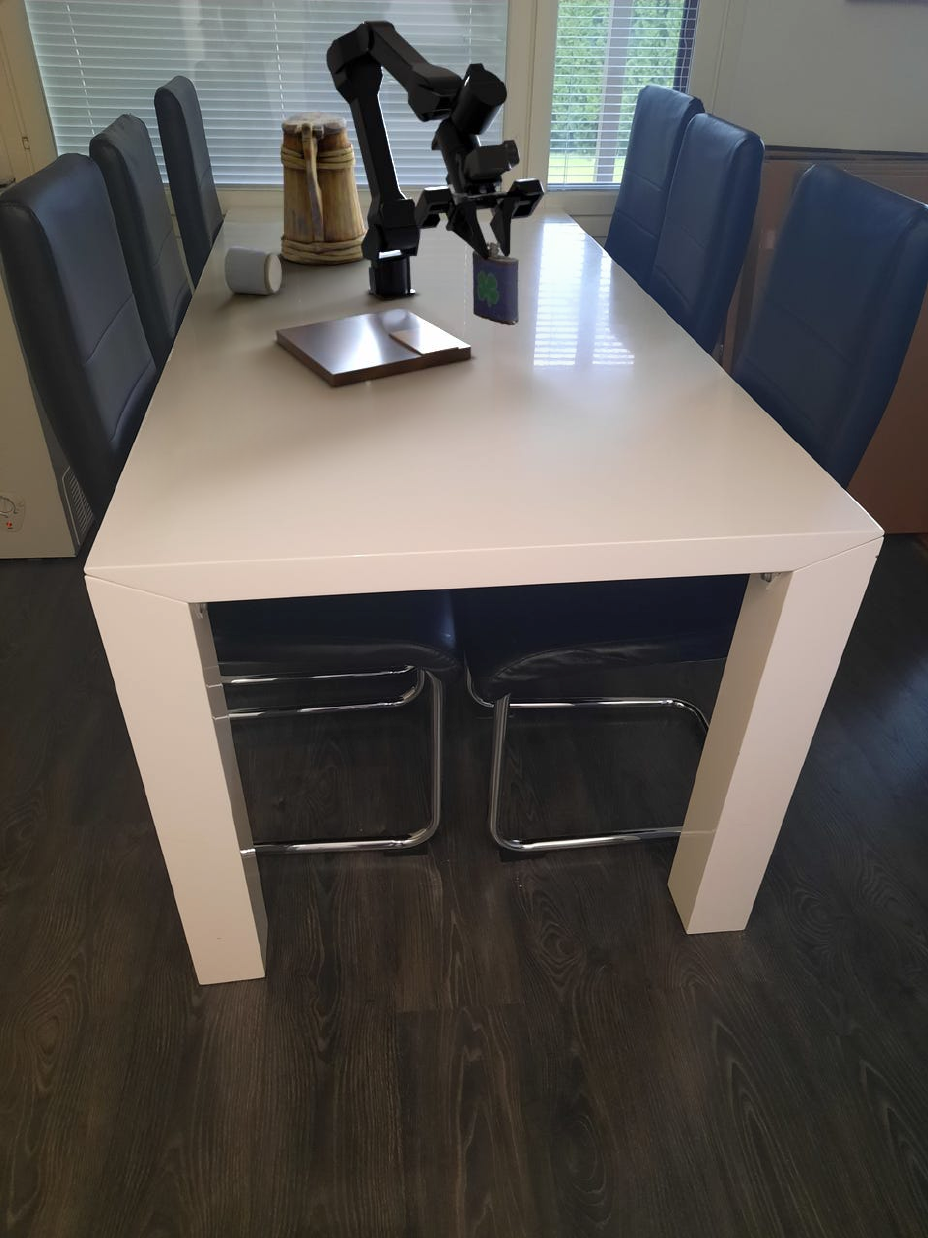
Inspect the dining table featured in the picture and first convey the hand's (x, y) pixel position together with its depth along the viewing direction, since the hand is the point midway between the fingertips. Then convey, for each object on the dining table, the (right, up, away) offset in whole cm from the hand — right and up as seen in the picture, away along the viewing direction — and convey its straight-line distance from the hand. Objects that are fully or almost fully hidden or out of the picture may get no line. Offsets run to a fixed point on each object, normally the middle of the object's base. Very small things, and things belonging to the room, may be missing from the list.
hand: (497, 256), depth 122 cm
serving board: (-19, -11, +7) cm, 23 cm away
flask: (0, -7, +6) cm, 9 cm away
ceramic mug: (-42, +8, +33) cm, 54 cm away
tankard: (-33, +22, +52) cm, 66 cm away
